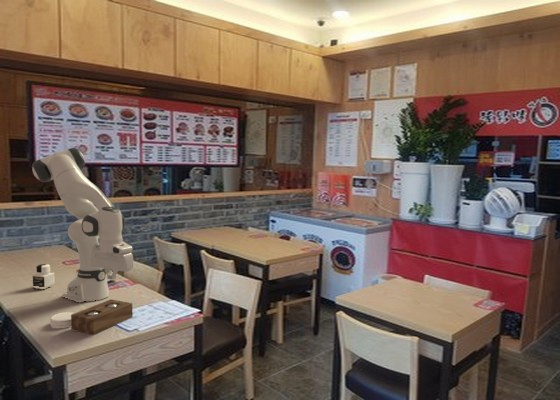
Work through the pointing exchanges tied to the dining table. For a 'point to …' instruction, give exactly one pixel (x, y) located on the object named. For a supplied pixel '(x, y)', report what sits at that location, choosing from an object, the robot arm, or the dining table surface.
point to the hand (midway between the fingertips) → (111, 279)
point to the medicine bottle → (43, 276)
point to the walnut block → (101, 317)
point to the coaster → (61, 320)
